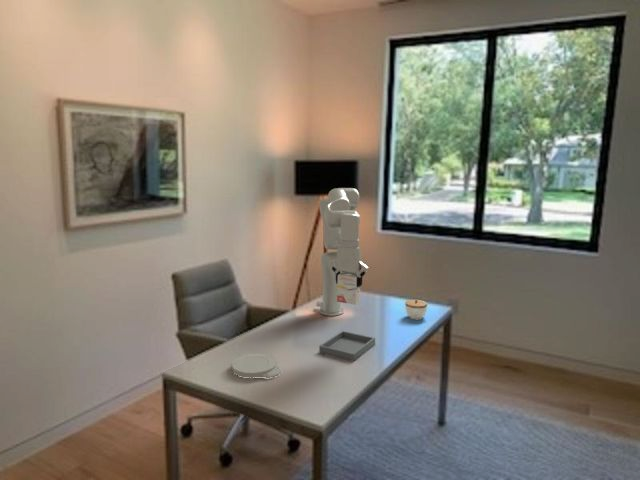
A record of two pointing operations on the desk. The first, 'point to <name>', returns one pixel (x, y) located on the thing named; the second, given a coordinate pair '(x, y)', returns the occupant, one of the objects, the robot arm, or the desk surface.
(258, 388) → the desk surface
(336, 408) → the desk surface
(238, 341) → the desk surface
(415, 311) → the lidded jar
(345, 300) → the ink cartridge box
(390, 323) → the desk surface
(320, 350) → the tray
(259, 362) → the lid
